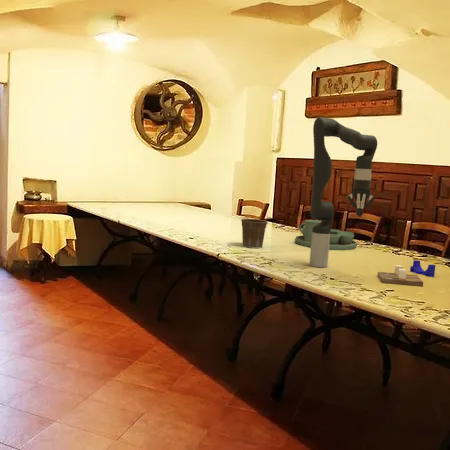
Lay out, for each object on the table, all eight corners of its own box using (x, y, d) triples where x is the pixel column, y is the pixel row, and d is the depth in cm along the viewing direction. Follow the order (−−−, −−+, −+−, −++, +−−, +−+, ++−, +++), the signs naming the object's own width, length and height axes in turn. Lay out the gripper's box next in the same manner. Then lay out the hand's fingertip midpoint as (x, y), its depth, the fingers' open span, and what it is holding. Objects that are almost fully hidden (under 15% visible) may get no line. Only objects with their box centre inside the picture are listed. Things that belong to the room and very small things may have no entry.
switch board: (377, 275, 249) (377, 271, 249) (416, 279, 246) (416, 274, 246) (381, 282, 234) (382, 278, 234) (422, 286, 231) (423, 281, 231)
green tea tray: (354, 253, 313) (356, 226, 310) (289, 246, 324) (291, 220, 322) (358, 244, 350) (360, 220, 348) (300, 238, 362) (301, 215, 360)
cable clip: (409, 271, 264) (411, 260, 263) (416, 271, 266) (418, 260, 265) (427, 277, 253) (428, 265, 252) (434, 277, 255) (435, 265, 254)
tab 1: (394, 273, 246) (395, 265, 245) (400, 273, 245) (401, 265, 245) (395, 274, 243) (396, 266, 242) (402, 275, 243) (402, 266, 242)
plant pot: (271, 248, 312) (273, 221, 310) (251, 249, 302) (252, 222, 300) (254, 243, 325) (255, 218, 323) (234, 245, 315) (235, 219, 313)
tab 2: (397, 277, 237) (398, 268, 237) (404, 277, 237) (405, 269, 236) (398, 278, 234) (399, 270, 234) (405, 279, 234) (406, 270, 233)
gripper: (376, 179, 238) (372, 216, 240) (347, 177, 240) (344, 214, 242) (378, 180, 231) (374, 218, 233) (348, 178, 233) (345, 216, 235)
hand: (359, 216), depth 238 cm, fingers closed
